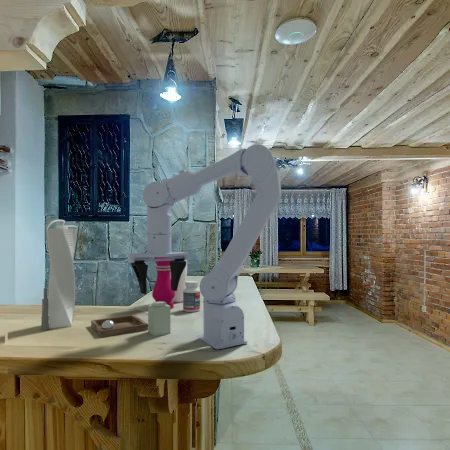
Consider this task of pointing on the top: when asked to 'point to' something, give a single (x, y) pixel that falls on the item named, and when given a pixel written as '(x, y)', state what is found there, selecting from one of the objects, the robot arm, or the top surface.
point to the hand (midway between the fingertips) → (159, 291)
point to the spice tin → (159, 318)
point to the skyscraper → (60, 278)
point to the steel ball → (108, 325)
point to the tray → (120, 325)
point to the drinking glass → (180, 286)
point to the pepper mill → (163, 283)
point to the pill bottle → (191, 297)
